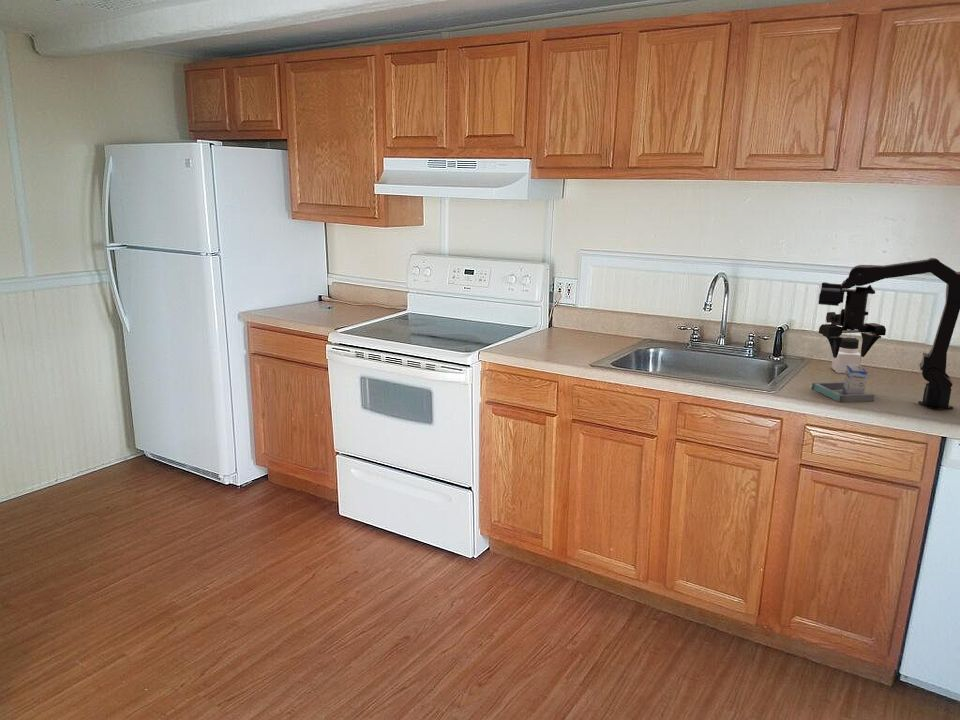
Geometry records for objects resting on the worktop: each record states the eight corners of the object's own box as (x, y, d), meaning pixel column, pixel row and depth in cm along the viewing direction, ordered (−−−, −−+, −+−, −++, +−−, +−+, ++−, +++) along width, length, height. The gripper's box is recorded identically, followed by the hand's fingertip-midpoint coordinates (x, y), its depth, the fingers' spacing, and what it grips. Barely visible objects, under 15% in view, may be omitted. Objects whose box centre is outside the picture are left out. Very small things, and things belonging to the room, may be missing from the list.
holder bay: (873, 401, 215) (874, 394, 215) (839, 402, 214) (840, 396, 213) (844, 387, 229) (844, 381, 229) (811, 388, 228) (812, 382, 227)
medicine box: (842, 390, 226) (846, 364, 224) (857, 391, 225) (861, 365, 223) (848, 397, 219) (851, 370, 217) (864, 398, 218) (867, 371, 216)
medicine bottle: (859, 374, 245) (863, 340, 242) (836, 373, 246) (841, 339, 243) (852, 369, 252) (857, 336, 249) (831, 368, 253) (835, 335, 250)
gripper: (866, 302, 224) (859, 350, 228) (811, 303, 222) (805, 351, 226) (890, 308, 214) (883, 358, 217) (833, 309, 211) (826, 360, 215)
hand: (848, 357), depth 219 cm, fingers open, 9 cm apart
